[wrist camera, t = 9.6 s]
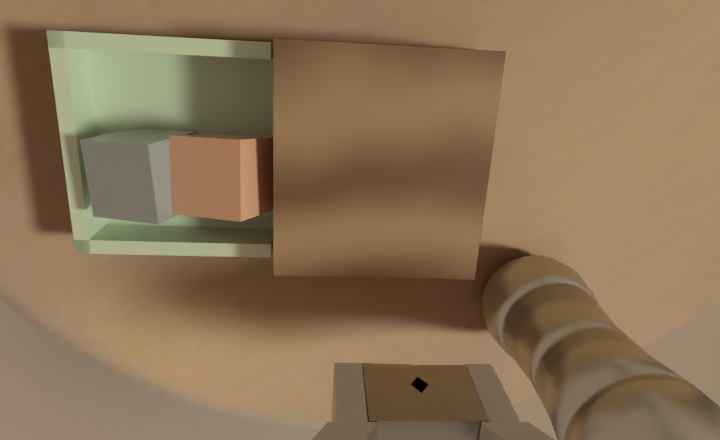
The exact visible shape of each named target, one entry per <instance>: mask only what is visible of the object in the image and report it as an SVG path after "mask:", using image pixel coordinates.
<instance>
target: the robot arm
mask: <svg viewBox="0 0 720 440" xmlns="http://www.w3.org/2000/svg"><path fill="white" fill-rule="evenodd" d="M312 440H554V439H553V438H551V437H549V436H548V435H547V434H545V433H544V432H542V431H541V430H539V429H538V428H536V427H535V426H533V425H532V424H530V423H529V422H520V420H519V418H518V416H517V415H516V412H515V410H514V408H513V406H512V404H511V402H510V400H509V398H508V396H507V394H506V392H505V390H504V388H503V386H502V384H501V382H500V380H499V378H498V376H497V374H496V373H495V371H494V369H493V367H492V366H491V365H490V364H463V365H405V364H371V363H362V365H361V364H360V363H335V366H334V380H333V402H332V422H328V423H327V424H326V425H325V426H324V427H323V428H322V429H321V430H320V431H319V433H318V434H317V435H316V436H315V437H314V438H313V439H312Z"/></svg>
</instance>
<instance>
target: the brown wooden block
mask: <svg viewBox="0 0 720 440" xmlns="http://www.w3.org/2000/svg"><path fill="white" fill-rule="evenodd" d="M505 53H506V51H488V50H470V49H452V48H435V47H417V46H399V45H381V44H363V43H346V42H328V41H310V40H292V39H275V38H273V276H307V277H359V278H411V279H464V280H475V274H476V267H477V259H478V252H479V245H480V237H481V230H482V223H483V215H484V208H485V201H486V193H487V186H488V178H489V171H490V164H491V156H492V149H493V142H494V134H495V127H496V120H497V112H498V105H499V98H500V90H501V83H502V75H503V68H504V61H505Z"/></svg>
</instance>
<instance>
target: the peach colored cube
mask: <svg viewBox="0 0 720 440" xmlns="http://www.w3.org/2000/svg"><path fill="white" fill-rule="evenodd" d="M169 143H170V172H171V200H172V214H177V215H186V216H194V217H203V218H212V219H220V220H229V221H238V222H242V221H244V220H247V219H250V218H253V217H255V216H258V215H261V214H264V213H266V212H269V211H272V210H273V136H256V135H239V134H223V133H205V134H186V135H169Z"/></svg>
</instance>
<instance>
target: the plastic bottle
mask: <svg viewBox="0 0 720 440" xmlns="http://www.w3.org/2000/svg"><path fill="white" fill-rule="evenodd" d="M482 311H483V315H484V319H485V323H486V326H487V329H488V331H489V332H490V334H491V336H492V337H493V338H494V339H495V340H496V342H497V343H498V344H499V345H500V346H501V347H502V348H503V349H504V350H505V352H507V353H508V354H509V355H510V356H511V357H512V358H513V359H514V360H515V361H516V363H517V364H518V365H519V367H520V368H521V369H522V370H523V372H524V373H525V374H526V376H527V377H528V378H529V380H530V381H531V382H532V384H533V386H534V388H535V390H536V392H537V393H538V396H539V398H540V400H541V401H542V403H543V405H544V407H545V409H546V411H547V413H548V415H549V417H550V420H551V423H552V425H553V428H554V431H555V433H556V436H557V439H558V440H720V407H719V405H718V404H716V403H715V402H714V401H713V400H711V399H710V398H709V397H708V396H707V395H705V394H704V393H703V392H702V391H700V390H699V389H698V388H697V387H695V386H694V385H692V384H691V383H689V382H688V381H686V380H685V379H684V378H682V377H681V376H679V375H678V374H676V373H675V372H673V371H672V370H671V369H669V368H668V367H666V366H664V365H663V364H662V363H660V362H659V361H658V360H656V359H654V358H653V357H652V356H650V355H649V354H648V353H647V352H645V351H644V350H643V349H642V348H641V347H640V346H639V345H637V344H636V343H635V342H634V341H633V340H631V339H630V338H629V337H628V336H627V335H626V334H625V333H623V332H622V331H621V330H620V329H619V328H618V327H617V326H616V325H615V324H614V323H613V321H612V320H611V319H610V318H609V317H608V315H607V314H606V313H605V312H604V310H603V309H602V308H601V307H600V306H599V304H598V303H597V301H596V299H595V297H594V295H593V293H592V291H591V290H590V288H589V287H588V285H587V284H586V283H585V281H584V280H583V279H582V277H581V276H580V275H579V274H578V273H577V272H576V271H574V270H573V269H572V268H570V267H568V266H566V265H565V264H563V263H561V262H559V261H557V260H555V259H552V258H549V257H545V256H536V255H532V256H524V257H521V258H517V259H514V260H512V261H510V262H508V263H506V264H505V265H503V266H502V267H500V268H499V269H498V270H497V271H496V272H495V273H494V274H493V275H492V276H491V277H490V279H489V280H488V282H487V284H486V286H485V288H484V291H483V295H482Z"/></svg>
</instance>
